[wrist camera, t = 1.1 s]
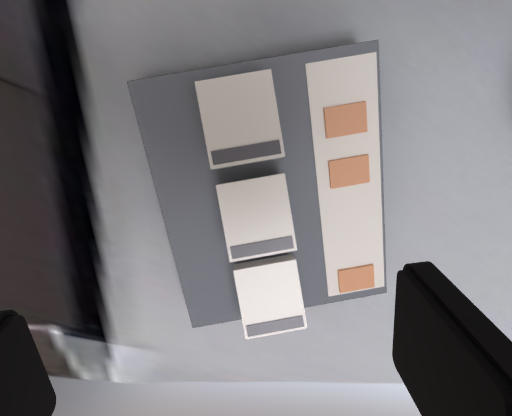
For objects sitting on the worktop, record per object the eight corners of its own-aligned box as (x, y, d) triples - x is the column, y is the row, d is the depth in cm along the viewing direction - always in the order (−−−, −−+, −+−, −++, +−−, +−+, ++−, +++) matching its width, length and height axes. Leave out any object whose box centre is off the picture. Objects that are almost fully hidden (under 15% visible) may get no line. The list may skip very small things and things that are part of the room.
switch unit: (356, 44, 27) (384, 38, 22) (368, 268, 33) (391, 299, 29) (140, 80, 26) (122, 81, 22) (196, 299, 33) (191, 336, 28)
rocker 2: (292, 253, 27) (296, 259, 25) (303, 318, 27) (307, 328, 25) (233, 264, 27) (233, 271, 25) (245, 328, 27) (245, 340, 25)
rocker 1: (268, 77, 22) (271, 68, 21) (281, 157, 23) (285, 156, 21) (198, 89, 22) (194, 81, 20) (213, 169, 23) (210, 169, 21)
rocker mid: (281, 173, 25) (284, 173, 23) (293, 244, 25) (297, 250, 23) (217, 184, 25) (215, 185, 23) (230, 256, 25) (229, 262, 23)
